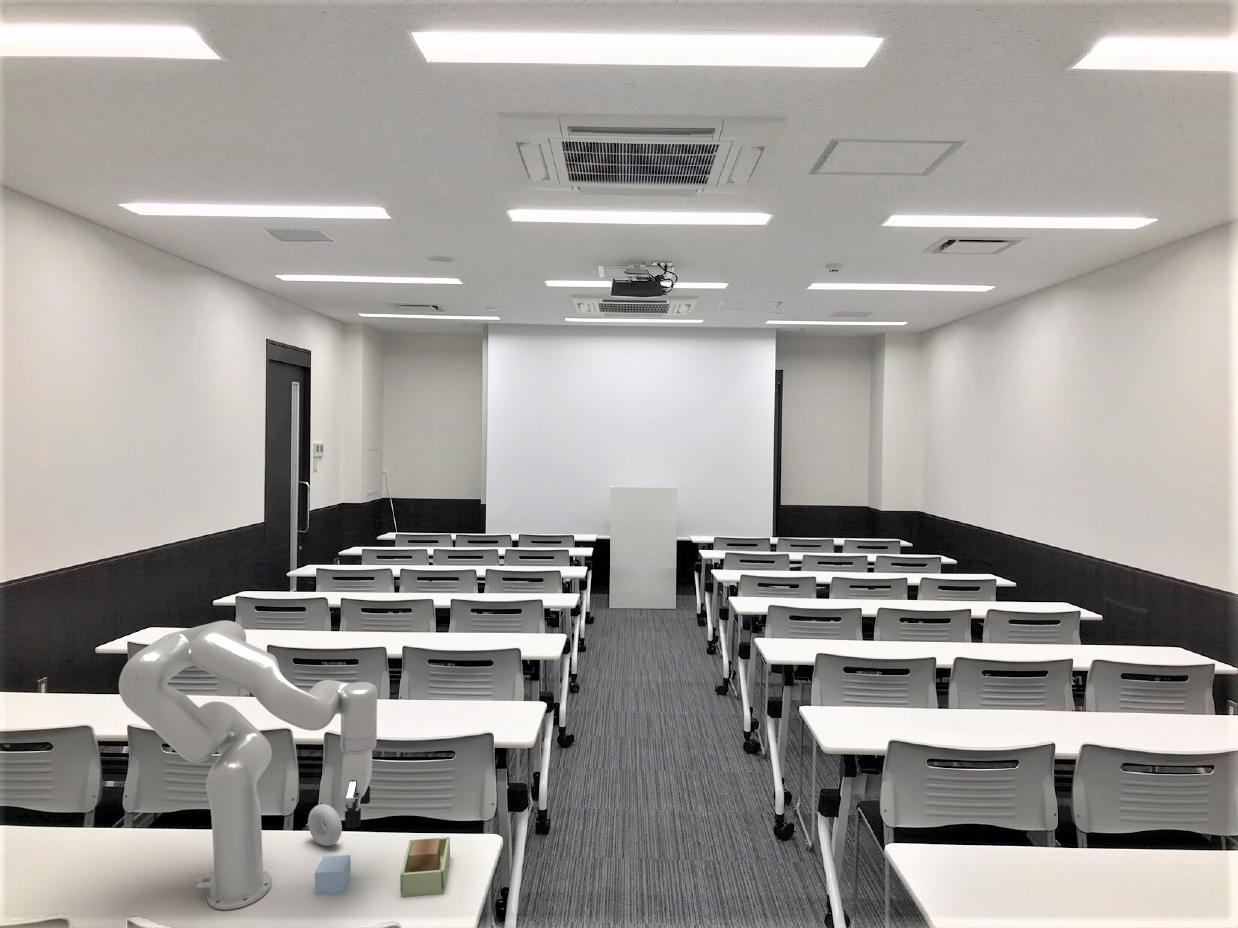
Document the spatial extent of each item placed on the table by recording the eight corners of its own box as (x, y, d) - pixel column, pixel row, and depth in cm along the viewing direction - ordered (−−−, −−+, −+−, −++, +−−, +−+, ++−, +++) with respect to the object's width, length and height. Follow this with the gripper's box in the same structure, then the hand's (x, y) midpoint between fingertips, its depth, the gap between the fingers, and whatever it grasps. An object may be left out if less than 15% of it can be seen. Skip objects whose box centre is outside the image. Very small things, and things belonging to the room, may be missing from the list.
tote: (400, 896, 162) (400, 874, 161) (410, 860, 175) (409, 839, 174) (444, 892, 163) (443, 871, 162) (450, 857, 176) (449, 836, 176)
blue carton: (315, 894, 163) (314, 872, 162) (323, 877, 169) (323, 856, 168) (343, 892, 163) (342, 870, 163) (351, 875, 169) (350, 854, 169)
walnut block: (409, 881, 165) (409, 855, 165) (413, 864, 171) (413, 839, 171) (437, 879, 166) (436, 853, 166) (440, 862, 172) (439, 837, 172)
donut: (305, 842, 182) (304, 803, 181) (317, 835, 185) (315, 796, 184) (334, 853, 177) (332, 813, 177) (345, 846, 181) (344, 806, 180)
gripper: (350, 723, 173) (349, 795, 174) (331, 758, 156) (330, 837, 157) (383, 723, 174) (382, 794, 175) (368, 757, 157) (367, 836, 158)
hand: (357, 814), depth 166 cm, fingers open, 9 cm apart
